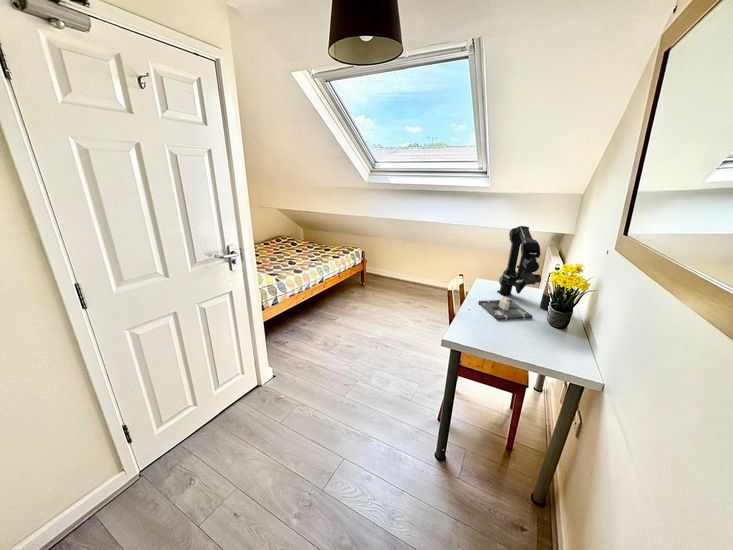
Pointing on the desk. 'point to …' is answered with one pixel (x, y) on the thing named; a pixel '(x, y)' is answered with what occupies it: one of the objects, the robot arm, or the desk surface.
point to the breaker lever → (504, 304)
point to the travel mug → (545, 297)
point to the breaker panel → (497, 311)
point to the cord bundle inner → (491, 301)
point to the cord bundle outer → (514, 317)
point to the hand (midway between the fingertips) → (517, 293)
